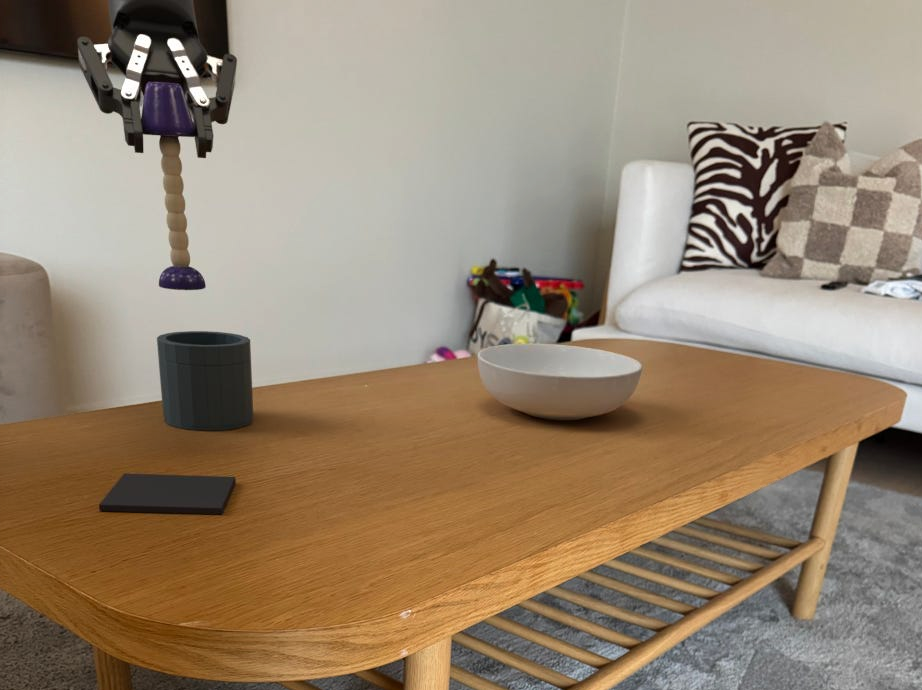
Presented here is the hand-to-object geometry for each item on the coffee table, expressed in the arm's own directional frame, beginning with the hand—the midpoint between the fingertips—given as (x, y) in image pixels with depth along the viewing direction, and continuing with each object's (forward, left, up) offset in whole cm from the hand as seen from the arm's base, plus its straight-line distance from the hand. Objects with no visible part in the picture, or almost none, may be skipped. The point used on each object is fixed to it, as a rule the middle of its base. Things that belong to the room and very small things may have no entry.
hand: (171, 147), depth 83 cm
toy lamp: (-1, +2, -12) cm, 12 cm away
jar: (-1, +16, -28) cm, 32 cm away
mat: (0, -12, -28) cm, 30 cm away
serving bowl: (+41, +27, -28) cm, 56 cm away
